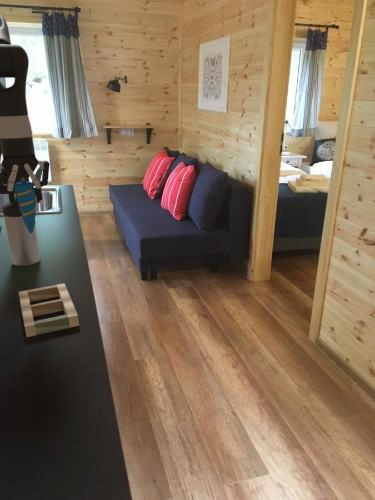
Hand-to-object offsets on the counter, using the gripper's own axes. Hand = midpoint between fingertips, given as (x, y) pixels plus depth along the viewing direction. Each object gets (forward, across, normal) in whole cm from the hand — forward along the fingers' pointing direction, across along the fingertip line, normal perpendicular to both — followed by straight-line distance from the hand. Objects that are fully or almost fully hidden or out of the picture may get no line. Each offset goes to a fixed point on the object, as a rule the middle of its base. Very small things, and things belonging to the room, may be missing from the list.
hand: (26, 203), depth 108 cm
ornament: (+8, 0, 0) cm, 8 cm away
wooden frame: (+28, -1, +7) cm, 29 cm away
